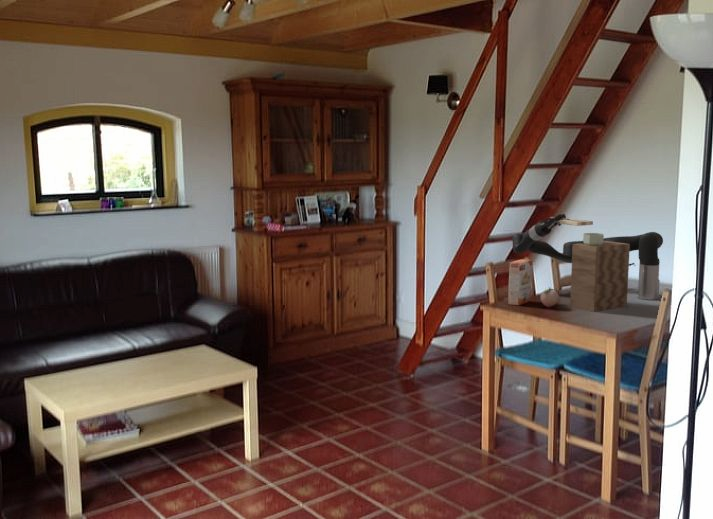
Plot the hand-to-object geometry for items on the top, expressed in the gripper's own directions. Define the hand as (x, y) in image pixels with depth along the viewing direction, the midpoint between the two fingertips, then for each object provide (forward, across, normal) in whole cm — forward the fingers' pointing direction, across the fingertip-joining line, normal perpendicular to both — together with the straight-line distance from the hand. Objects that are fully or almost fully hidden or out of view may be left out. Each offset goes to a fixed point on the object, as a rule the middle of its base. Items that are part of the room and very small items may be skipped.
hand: (562, 215), depth 354 cm
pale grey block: (+10, 0, -20) cm, 23 cm away
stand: (-4, -6, -46) cm, 47 cm away
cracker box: (-27, +20, -33) cm, 48 cm away
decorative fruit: (-13, +16, -41) cm, 46 cm away
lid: (+1, 0, -4) cm, 5 cm away
